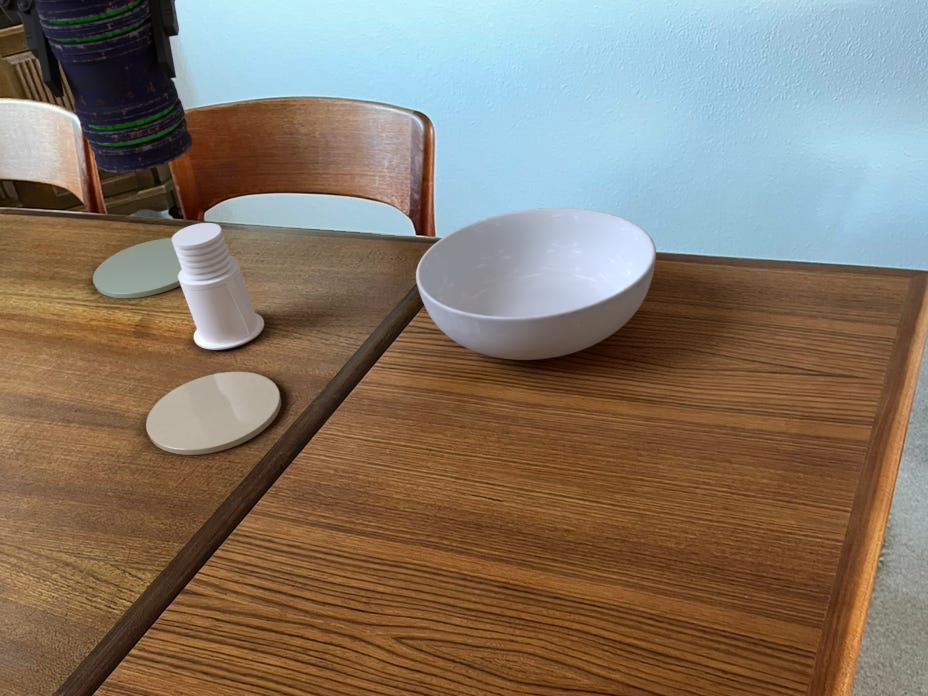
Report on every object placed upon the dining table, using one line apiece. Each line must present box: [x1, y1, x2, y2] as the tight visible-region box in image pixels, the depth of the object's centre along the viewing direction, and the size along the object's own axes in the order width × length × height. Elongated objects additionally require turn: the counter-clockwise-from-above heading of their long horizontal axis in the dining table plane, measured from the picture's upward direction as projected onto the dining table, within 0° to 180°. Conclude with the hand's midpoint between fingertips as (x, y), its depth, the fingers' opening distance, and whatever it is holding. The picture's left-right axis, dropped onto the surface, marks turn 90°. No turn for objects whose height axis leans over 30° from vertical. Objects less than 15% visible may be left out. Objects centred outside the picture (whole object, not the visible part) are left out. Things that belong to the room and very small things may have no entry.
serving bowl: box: [415, 207, 657, 361], centre depth 86 cm, size 21×21×7 cm
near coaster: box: [145, 371, 282, 456], centre depth 86 cm, size 12×12×1 cm
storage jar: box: [35, 0, 194, 174], centre depth 90 cm, size 10×10×15 cm
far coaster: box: [92, 237, 182, 299], centre depth 108 cm, size 13×13×1 cm
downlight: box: [171, 222, 265, 351], centre depth 92 cm, size 8×7×10 cm
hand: (110, 79), depth 88 cm, fingers closed on storage jar, 10 cm apart
